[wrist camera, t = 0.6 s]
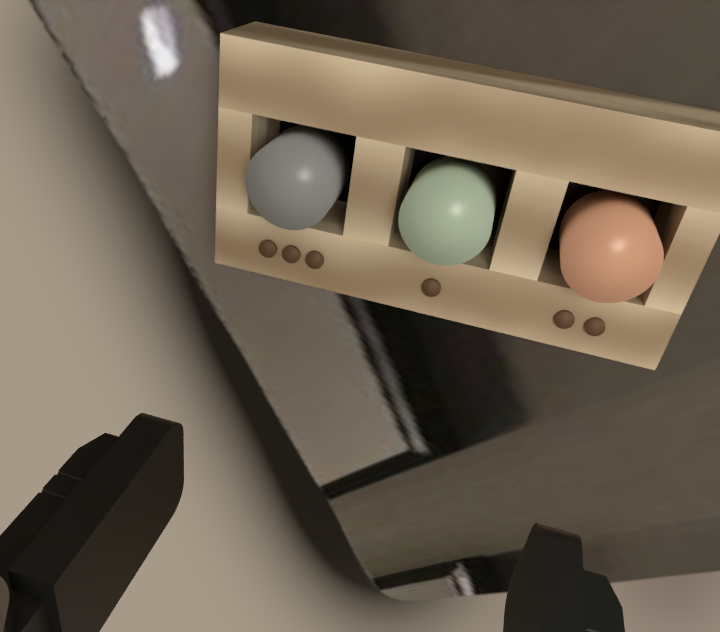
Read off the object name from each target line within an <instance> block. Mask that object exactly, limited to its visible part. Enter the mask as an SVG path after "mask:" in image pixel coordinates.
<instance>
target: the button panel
mask: <svg viewBox="0 0 720 632" xmlns="http://www.w3.org/2000/svg"><path fill="white" fill-rule="evenodd" d="M280 120H282V121H287V122H292V123H296V124H301V125H306V126H310V127H315V128H320V129H325V130H329V131H334V132H339V133H343V134H348V135H353V136H356V144H355V151H354V158H353V165H352V173H351V180H350V187H349V195H348V202H343V201H339V200H336V202H335V203H334V204H333V206H332V207H331V208H330V210H329V211H328V212H327V214H326V215H325V216H324V218H323V219H322V220H321V221H320V222H318V223H317V224H315V225H314V226H312V227H309V228H307V229H303V230H287V229H283V228H279V227H277V226H275V225H273V224H271V223H269V222H268V221H267V220H265V219H264V218H263V217H262V216H261V215H260V214H259V213H258V212H257V211H256V209H255V208H254V206H253V205H252V203H251V201H250V199H249V196H248V193H247V190H246V171H247V167H248V165H249V163H250V161H251V159H252V158H253V156H254V155H255V154H256V153H257V152H258V151H259V150H260V149H262V148H263V147H264V146H265V145H267V144H268V143H269V142H271V141H272V140H273V139H274V138H276V137H277V136H278V135H279V131H280ZM416 149H419V150H424V151H428V152H433V153H438V154H442V155H447V156H452V157H457V158H461V159H466V160H471V161H475V162H480V163H485V164H490V165H494V166H499V167H504V168H508V169H513V171H512V174H511V178H510V182H509V185H508V189H507V193H506V196H505V200H504V204H503V207H502V211H501V215H500V218H499V222H498V226H497V229H496V233H495V236H494V235H490V238H489V240H488V242H487V244H486V246H485V247H484V248H483V250H482V251H481V252H480V253H479V254H478V255H476V256H475V257H474V258H472V259H471V260H469V261H466V262H464V263H461V264H457V265H450V266H444V265H436V264H433V263H429V262H427V261H425V260H423V259H421V258H419V257H418V256H417V255H415V254H414V253H413V252H412V251H411V250H410V249H409V248H408V247H407V245H406V244H405V242H404V240H403V238H402V236H401V233H400V230H399V224H398V217H399V211H400V207H401V205H402V202H403V200H404V198H405V196H406V194H407V192H408V187H409V182H410V176H411V171H412V166H413V160H414V155H415V150H416ZM569 181H570V182H574V183H579V184H584V185H588V186H593V187H598V188H603V189H607V190H612V191H617V192H621V193H626V194H631V195H636V196H640V197H645V198H650V199H654V200H659V201H661V203H660V206H659V208H658V210H657V213H656V215H655V218H654V220H653V221H654V224H655V226H656V229H657V232H658V235H659V237H660V240H661V243H662V246H663V252H664V261H663V266H662V269H661V272H660V274H659V276H658V278H657V279H656V280H655V282H654V283H653V284H652V285H651V286H650V287H649V288H648V289H647V290H646V291H644V292H643V293H642V294H640V295H638V296H636V297H634V298H632V299H629V300H627V301H623V302H618V303H599V302H594V301H591V300H588V299H586V298H583V297H582V296H580V295H578V294H577V293H576V292H574V291H573V290H572V289H571V288H570V287H569V285H568V284H567V283H566V281H565V279H564V277H563V274H562V271H561V266H560V250H556V249H551V248H548V246H549V242H550V239H551V236H552V233H553V230H554V227H555V224H556V221H557V218H558V214H559V211H560V208H561V205H562V202H563V199H564V196H565V193H566V190H567V187H568V183H569ZM719 233H720V111H715V110H710V109H705V108H700V107H695V106H689V105H684V104H679V103H674V102H669V101H664V100H658V99H653V98H648V97H643V96H638V95H632V94H627V93H622V92H617V91H612V90H607V89H601V88H596V87H591V86H586V85H581V84H576V83H570V82H565V81H560V80H555V79H550V78H544V77H539V76H534V75H529V74H524V73H519V72H513V71H508V70H503V69H498V68H493V67H488V66H482V65H477V64H472V63H467V62H462V61H456V60H451V59H446V58H441V57H436V56H431V55H425V54H420V53H415V52H410V51H405V50H400V49H394V48H389V47H384V46H379V45H374V44H368V43H363V42H358V41H353V40H348V39H343V38H337V37H332V36H327V35H322V34H317V33H312V32H306V31H301V30H296V29H291V28H286V27H280V26H275V25H270V24H265V23H260V22H252V23H249V24H246V25H243V26H240V27H237V28H234V29H231V30H228V31H225V32H222V33H220V65H219V107H218V149H217V191H216V232H215V263H218V264H222V265H226V266H231V267H235V268H239V269H243V270H247V271H251V272H255V273H259V274H263V275H267V276H272V277H276V278H280V279H284V280H288V281H292V282H296V283H300V284H304V285H308V286H312V287H317V288H321V289H325V290H329V291H333V292H337V293H341V294H345V295H349V296H353V297H357V298H362V299H366V300H370V301H374V302H378V303H382V304H386V305H390V306H394V307H398V308H403V309H407V310H411V311H415V312H419V313H423V314H427V315H431V316H435V317H439V318H443V319H448V320H452V321H456V322H460V323H464V324H468V325H472V326H476V327H480V328H484V329H488V330H493V331H497V332H501V333H505V334H509V335H513V336H517V337H521V338H525V339H529V340H533V341H538V342H542V343H546V344H550V345H554V346H558V347H562V348H566V349H570V350H574V351H579V352H583V353H587V354H591V355H595V356H599V357H603V358H607V359H611V360H615V361H619V362H624V363H628V364H632V365H636V366H640V367H644V368H648V369H652V370H656V367H657V365H658V363H659V361H660V359H661V357H662V355H663V353H664V350H665V348H666V346H667V344H668V342H669V340H670V338H671V335H672V333H673V331H674V329H675V327H676V325H677V323H678V321H679V318H680V316H681V314H682V312H683V310H684V308H685V306H686V304H687V301H688V299H689V297H690V295H691V293H692V291H693V289H694V287H695V284H696V282H697V280H698V278H699V276H700V274H701V272H702V269H703V267H704V265H705V263H706V261H707V259H708V257H709V255H710V252H711V250H712V248H713V246H714V244H715V242H716V240H717V238H718V235H719Z"/></svg>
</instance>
